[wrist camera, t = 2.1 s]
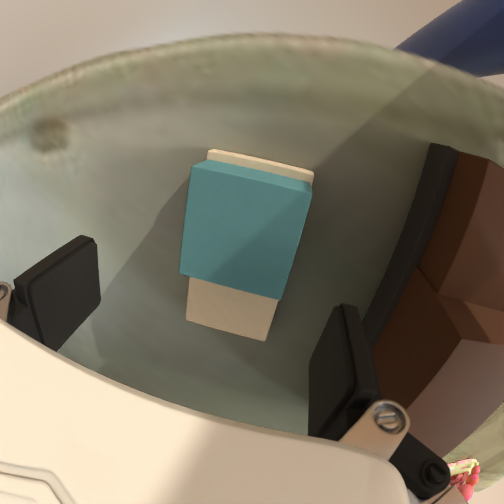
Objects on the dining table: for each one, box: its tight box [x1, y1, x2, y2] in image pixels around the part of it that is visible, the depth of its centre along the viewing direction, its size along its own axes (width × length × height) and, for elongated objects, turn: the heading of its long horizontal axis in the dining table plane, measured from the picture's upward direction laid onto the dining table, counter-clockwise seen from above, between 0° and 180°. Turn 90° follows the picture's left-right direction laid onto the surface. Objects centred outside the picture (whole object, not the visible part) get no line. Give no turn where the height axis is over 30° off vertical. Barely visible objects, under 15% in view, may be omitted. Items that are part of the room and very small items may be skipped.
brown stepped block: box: [361, 143, 504, 458], centre depth 15 cm, size 24×9×9 cm, turn 168°
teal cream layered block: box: [179, 149, 314, 341], centre depth 17 cm, size 12×6×4 cm, turn 168°
